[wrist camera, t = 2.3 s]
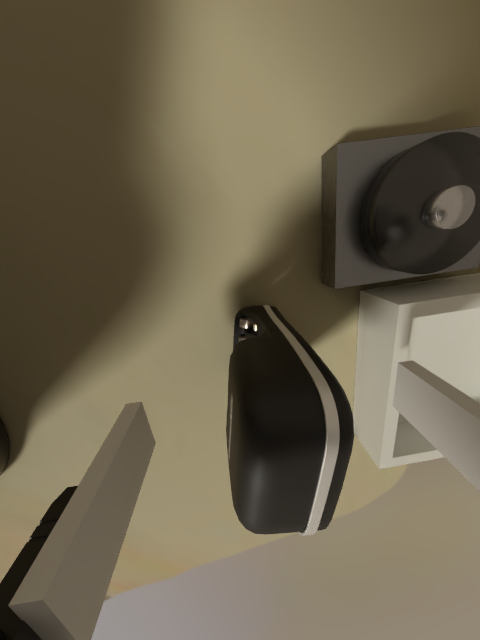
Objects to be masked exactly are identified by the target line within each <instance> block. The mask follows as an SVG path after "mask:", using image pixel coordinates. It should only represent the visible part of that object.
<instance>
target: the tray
mask: <svg viewBox="0 0 480 640" xmlns="http://www.w3.org/2000/svg"><path fill="white" fill-rule="evenodd" d="M411 360H413V361H415V362H416V363H418V364H419V365H421V366H422V367H424V368H426V369H427V370H429V371H430V372H432V373H433V374H435V375H436V376H438V377H440V378H441V379H443V380H444V381H446V382H447V383H449V384H451V385H452V386H454V387H455V388H457V389H458V390H460V391H461V392H463V393H465V394H466V395H468V396H469V397H471V398H472V399H474V400H476V401H477V402H479V403H480V273H473V274H467V275H460V276H453V277H447V278H440V279H433V280H427V281H420V282H413V283H407V284H400V285H393V286H387V287H380V288H373V289H367V290H360V304H359V321H358V338H357V356H356V373H355V390H354V408H353V421H354V433H355V435H356V436H357V438H358V439H359V441H360V442H361V444H362V445H363V446H364V448H365V449H366V451H367V452H368V454H369V455H370V456H371V458H372V459H373V461H374V462H375V464H376V465H377V467H378V468H379V469H383V468H388V467H394V466H399V465H404V464H410V463H415V462H421V461H426V460H432V459H437V458H442V457H444V456H443V455H442V454H441V453H440V452H439V451H438V450H437V449H436V448H435V447H434V446H433V445H432V444H431V443H430V442H429V441H428V440H427V439H426V438H425V437H424V436H423V435H422V434H421V433H420V432H419V431H418V430H417V429H416V428H415V427H414V426H413V425H412V424H411V423H410V422H409V421H408V420H407V419H406V418H405V417H404V416H403V415H402V414H401V413H399V412H398V411H397V410H396V409H395V408H394V407H393V399H394V391H395V383H396V375H397V367H398V362H404V361H411Z"/></svg>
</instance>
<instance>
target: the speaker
mask: <svg viewBox="0 0 480 640" xmlns="http://www.w3.org/2000/svg"><path fill="white" fill-rule="evenodd" d="M479 262H480V126H478V127H469V128H461V129H453V130H445V131H437V132H429V133H421V134H412V135H404V136H396V137H388V138H380V139H372V140H364V141H355V142H347V143H339V144H336V145H335V146H334V147H333V148H331V149H330V150H329V151H328V152H326V153H325V154H324V155H322V283H323V284H325V285H327V286H329V287H332V288H334V289H338V288H344V287H351V286H358V285H364V284H371V283H378V282H385V281H391V280H398V279H405V278H411V277H418V276H425V275H431V274H438V273H445V272H452V271H458V270H465V269H472V268H478V266H479Z"/></svg>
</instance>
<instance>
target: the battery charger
mask: <svg viewBox="0 0 480 640" xmlns="http://www.w3.org/2000/svg"><path fill="white" fill-rule="evenodd" d="M226 434H227V450H228V462H229V472H230V481H231V491H232V499H233V505H234V509H235V511H236V514H237V516H238V519H239V521H240V522H241V523H242V524H243V526H244V527H245V528H246V529H247V530H249V531H251V532H253V533H255V534H277V533H290V532H298V533H299V534H300V535H313V534H315V533H316V531H317V530H323V529H326V528H327V527H328V525H329V523H330V521H331V520H332V517H333V514H334V511H335V508H336V505H337V502H338V499H339V496H340V493H341V489H342V486H343V482H344V478H345V475H346V471H347V467H348V463H349V459H350V456H351V452H352V446H353V439H354V421H353V415H352V411H351V407H350V404H349V401H348V399H347V397H346V394H345V392H344V390H343V388H342V387H341V385H340V384H339V382H338V380H337V379H336V377H335V376H334V375H333V374H332V372H331V371H330V370H329V368H328V367H327V366H326V365H325V363H324V362H323V361H322V360H321V358H320V357H319V356H318V355H317V353H316V352H315V351H314V350H313V349H312V348H311V346H310V345H309V344H308V343H307V342H306V341H305V340H304V339H303V337H302V336H301V335H300V334H299V333H298V332H297V331H296V330H295V329H294V328H293V327H292V326H291V325H290V324H289V323H288V322H287V321H286V320H285V319H284V317H283V316H282V315H281V314H280V312H279V311H278V310H277V308H276V307H273V306H269V305H263V306H251V307H246V308H243V309H241V310H240V311H239V312H238V313H237V314H236V317H235V324H234V343H233V353H232V354H231V357H230V364H229V380H228V408H227V425H226Z"/></svg>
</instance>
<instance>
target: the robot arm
mask: <svg viewBox="0 0 480 640" xmlns="http://www.w3.org/2000/svg"><path fill="white" fill-rule="evenodd" d="M393 407H394V408H395V409H396V410H397V411H398V412H399V413H401V414H402V415H403V416H404V417H405V418H406V419H407V420H408V421H409V422H410V423H411V424H412V425H413V426H414V427H415V428H416V429H417V430H418V431H419V432H420V433H421V434H422V435H423V436H424V437H425V438H426V439H427V440H428V441H429V442H430V443H431V444H432V445H433V446H434V447H435V448H436V449H437V450H438V451H439V452H440V453H441V454H442V455H443V456H444V457H445V458H446V459H447V460H448V461H449V462H450V463H451V464H452V465H453V466H455V467H456V468H457V470H458V471H460V472H461V473H462V474H463V475H464V476H465V477H466V478H467V479H468V480H469V481H470V482H471V483H472V484H473V485H474V486H475V487H476V488H477V489H478V490H479V491H480V403H479V402H477V401H476V400H474V399H472V398H471V397H469V396H468V395H466V394H465V393H463V392H461V391H460V390H458V389H457V388H455V387H454V386H452V385H451V384H449V383H447V382H446V381H444V380H443V379H441V378H440V377H438V376H436V375H435V374H433V373H432V372H430V371H429V370H427V369H426V368H424V367H422V366H421V365H419V364H418V363H416V362H415V361H413V360H411V361H404V362H398V367H397V375H396V383H395V391H394V399H393ZM154 446H155V440H154V437H153V434H152V431H151V428H150V425H149V422H148V419H147V416H146V413H145V410H144V407H143V404H142V402H136V403H129V404H126V405H125V407H124V409H123V410H122V412H121V414H120V415H119V417H118V419H117V420H116V422H115V424H114V426H113V427H112V429H111V431H110V432H109V434H108V436H107V438H106V439H105V441H104V443H103V444H102V446H101V448H100V450H99V451H98V453H97V455H96V456H95V458H94V460H93V462H92V463H91V465H90V467H89V468H88V470H87V472H86V473H85V475H84V477H83V479H82V480H81V482H80V484H79V485H78V486H74V487H67V488H66V489H65V490H64V491H63V493H62V494H61V495H60V496H59V497H58V498H57V499H56V500H55V501H54V502H53V503H52V504H51V506H50V507H49V509H48V510H47V512H46V513H45V515H44V517H43V518H42V520H41V521H40V525H39V526H37V527H36V529H35V531H34V532H33V534H32V535H31V537H30V540H29V542H27V543H26V544H25V546H24V548H23V549H22V551H21V552H20V554H19V555H18V557H17V558H16V560H15V561H14V563H13V565H12V566H11V568H10V569H9V571H8V572H7V574H6V575H5V577H4V579H3V580H2V582H1V583H0V640H91V638H92V634H93V632H94V629H95V625H96V623H97V620H98V617H99V613H100V611H101V607H102V604H103V601H104V598H105V595H106V592H107V589H108V586H109V583H110V580H111V577H112V574H113V571H114V568H115V565H116V562H117V559H118V556H119V553H120V550H121V547H122V544H123V541H124V538H125V535H126V532H127V528H128V525H129V522H130V519H131V516H132V513H133V510H134V507H135V504H136V501H137V498H138V495H139V492H140V489H141V486H142V483H143V480H144V477H145V474H146V471H147V468H148V465H149V462H150V459H151V456H152V452H153V449H154ZM8 456H9V444H8V438H7V435H6V432H5V429H4V427H3V425H2V423H1V421H0V474H1V473H2V471H3V470H4V468H5V466H6V463H7V460H8Z"/></svg>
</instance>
